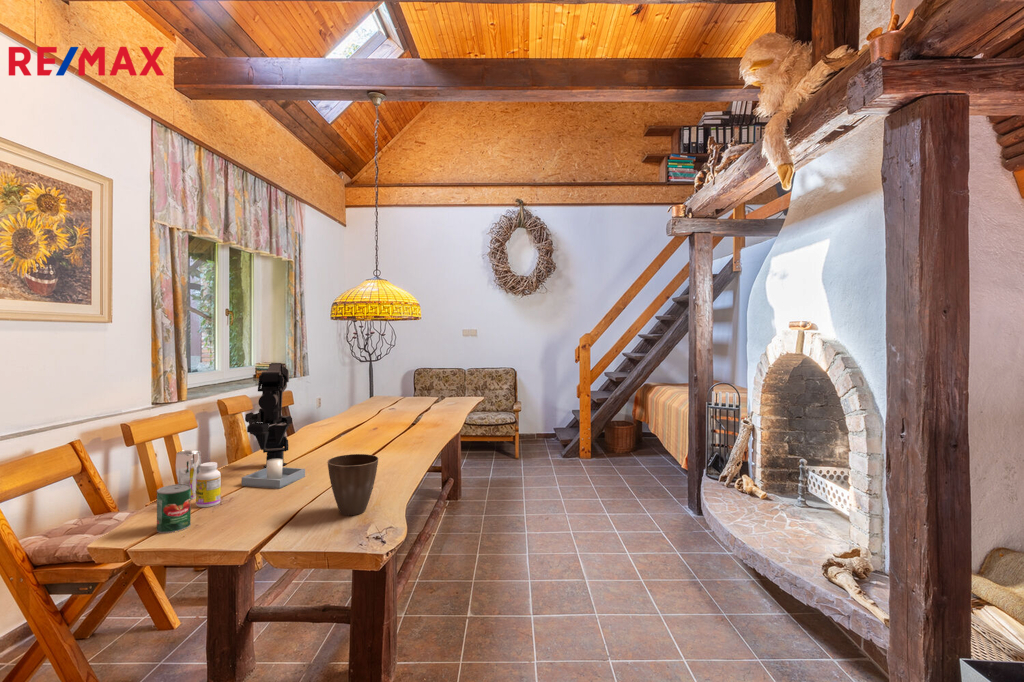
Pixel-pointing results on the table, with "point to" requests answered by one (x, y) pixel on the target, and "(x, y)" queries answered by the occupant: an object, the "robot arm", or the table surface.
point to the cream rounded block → (274, 468)
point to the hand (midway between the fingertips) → (270, 446)
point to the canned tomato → (173, 508)
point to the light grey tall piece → (188, 468)
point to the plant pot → (352, 481)
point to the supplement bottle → (208, 485)
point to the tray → (261, 479)
